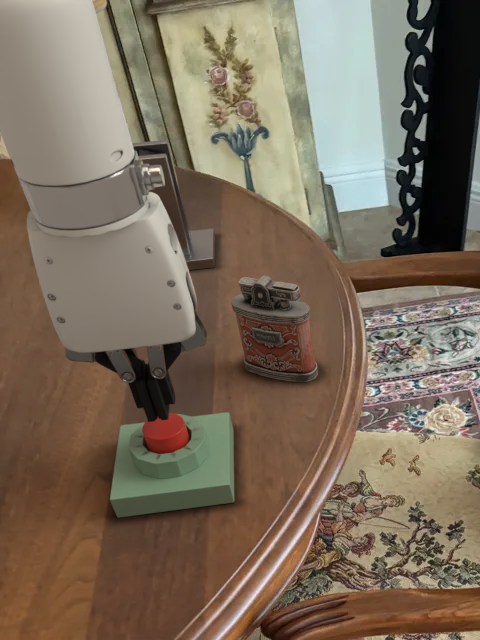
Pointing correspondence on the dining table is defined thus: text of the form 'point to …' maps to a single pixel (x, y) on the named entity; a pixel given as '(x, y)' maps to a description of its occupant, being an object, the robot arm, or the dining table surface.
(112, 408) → the dining table surface
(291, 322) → the lighter
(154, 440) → the button
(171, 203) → the bracket
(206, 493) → the button box
